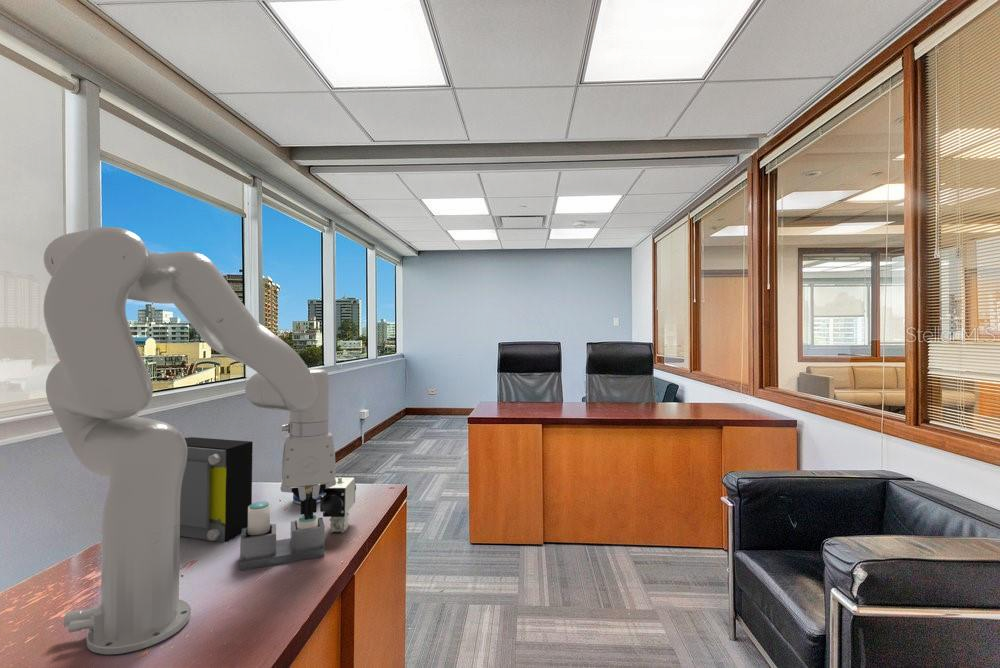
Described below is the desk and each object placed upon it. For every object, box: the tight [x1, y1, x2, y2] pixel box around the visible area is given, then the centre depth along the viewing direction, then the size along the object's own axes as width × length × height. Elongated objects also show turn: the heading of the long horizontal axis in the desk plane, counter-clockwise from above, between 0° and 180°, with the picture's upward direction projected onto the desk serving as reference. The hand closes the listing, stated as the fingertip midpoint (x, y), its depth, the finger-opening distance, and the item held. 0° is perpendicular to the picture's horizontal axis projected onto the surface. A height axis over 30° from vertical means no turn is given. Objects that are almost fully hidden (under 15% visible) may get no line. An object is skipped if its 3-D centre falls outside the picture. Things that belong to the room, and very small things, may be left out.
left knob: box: [248, 501, 271, 535], centre depth 96 cm, size 4×4×5 cm
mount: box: [239, 516, 326, 572], centre depth 98 cm, size 15×8×6 cm, turn 115°
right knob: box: [297, 513, 319, 530], centre depth 100 cm, size 4×4×5 cm
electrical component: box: [180, 436, 254, 543], centre depth 108 cm, size 18×10×20 cm, turn 76°
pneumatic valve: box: [319, 476, 357, 534], centre depth 111 cm, size 6×12×12 cm, turn 2°
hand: (308, 516), depth 100 cm, fingers closed
